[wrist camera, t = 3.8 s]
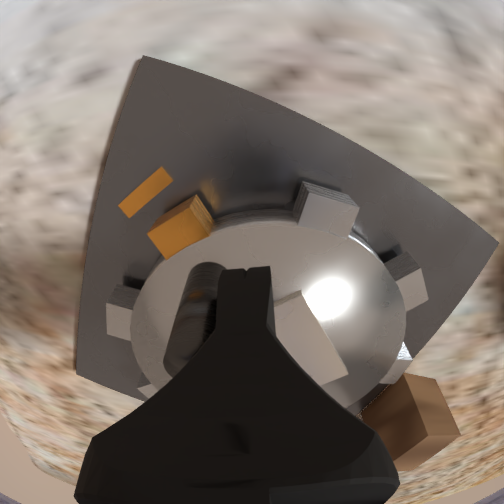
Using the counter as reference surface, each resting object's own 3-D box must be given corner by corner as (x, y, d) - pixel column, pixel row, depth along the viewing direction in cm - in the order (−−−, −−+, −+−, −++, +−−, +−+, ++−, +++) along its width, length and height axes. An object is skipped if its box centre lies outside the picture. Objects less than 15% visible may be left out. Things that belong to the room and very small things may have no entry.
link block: (394, 416, 20) (412, 470, 15) (361, 412, 19) (376, 472, 15) (434, 378, 18) (460, 434, 13) (402, 371, 17) (428, 435, 13)
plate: (323, 437, 20) (324, 443, 20) (78, 369, 17) (75, 375, 17) (495, 239, 13) (500, 243, 12) (146, 56, 9) (142, 54, 9)
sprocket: (432, 356, 16) (469, 431, 11) (224, 435, 19) (220, 507, 14) (350, 111, 10) (436, 130, 5) (63, 282, 13) (3, 364, 8)
